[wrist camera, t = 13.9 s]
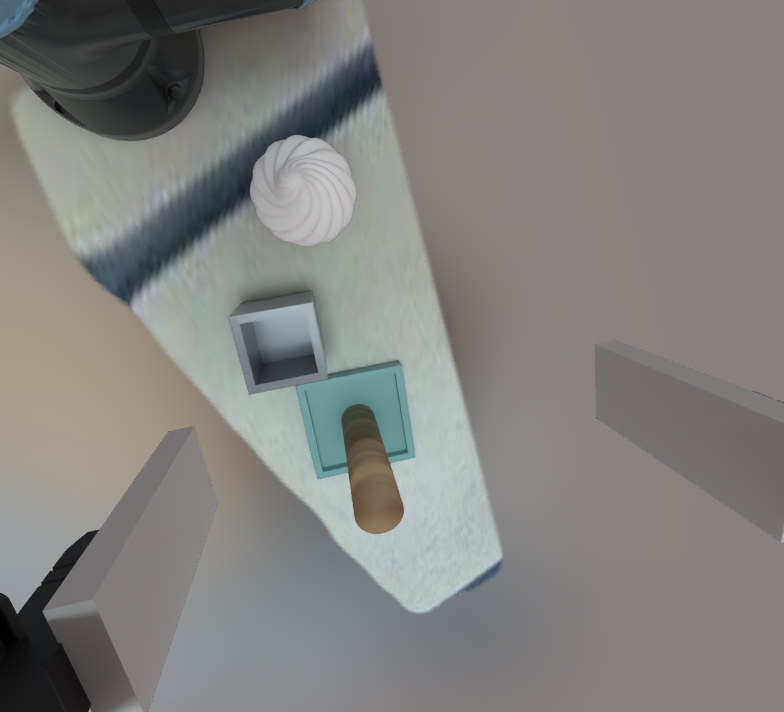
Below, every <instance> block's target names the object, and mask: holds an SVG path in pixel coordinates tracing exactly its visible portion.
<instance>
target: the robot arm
mask: <svg viewBox="0 0 784 712" xmlns="http://www.w3.org/2000/svg"><path fill="white" fill-rule="evenodd" d="M313 1H316V0H0V63H1V64H3V65H5V66H7V67H9V68H11V69H13V70H15V71H17V72H19V73H20V74H21V75H22V77H23V78H24V80H25V81H26V83H27V84H28V85H29V86H30V88H31V89H32V90H33V91H34V92H35V94H36V95H37V96H38V97H39V98H40V99H41V100H42V101H43V102H44V103H45V104H46V105H48V106H49V107H50V108H51V109H52V110H54V111H55V112H56V113H58V114H59V115H60V116H62V117H63V118H65V119H66V120H68V121H70V122H71V123H73V124H75V125H77V126H79V127H81V128H84V129H86V130H88V131H90V132H93V133H95V134H98V135H101V136H104V137H107V138H112V139H117V140H128V141H131V140H143V139H149V138H152V137H156V136H158V135H161V134H163V133H165V132H167V131H169V130H170V129H172V128H173V127H175V126H176V125H177V124H179V123H180V122H181V121H182V120H183V119H184V118H185V117H186V115H187V114H188V113H189V111H190V110H191V109H192V107H193V105H194V104H195V102H196V100H197V97H198V95H199V92H200V89H201V85H202V81H203V74H204V52H203V45H202V40H201V36H200V32H199V29H200V28H204V27H209V26H213V25H217V24H222V23H226V22H231V21H235V20H240V19H244V18H249V17H253V16H257V15H262V14H266V13H271V12H275V11H280V10H284V9H288V8H289V9H292V10H299V9H302V7H306V6H307V5H308V4H310V3H311V2H313ZM595 387H596V419H598V420H599V421H601V422H602V423H604V424H605V425H607V426H608V427H610V428H611V429H613V430H614V431H616V432H617V433H619V434H620V435H622V436H623V437H625V438H626V439H628V440H629V441H631V442H632V443H633V444H635V445H636V446H638V447H639V448H641V449H642V450H644V451H645V452H647V453H648V454H650V455H651V456H653V457H654V458H656V459H657V460H659V461H660V462H662V463H663V464H665V465H666V466H668V467H669V468H671V469H672V470H674V471H675V472H677V473H678V474H679V475H681V476H682V477H684V478H685V479H687V480H689V481H690V482H691V483H693V484H694V485H696V486H697V487H699V488H700V489H702V490H703V491H705V492H706V493H708V494H709V495H711V496H712V497H713V498H715V499H716V500H718V501H719V502H721V503H722V504H724V505H725V506H727V507H729V508H730V509H731V510H733V511H734V512H736V513H737V514H739V515H740V516H742V517H743V518H745V519H746V520H748V521H749V522H751V523H752V524H754V525H755V526H756V527H758V528H760V529H761V530H762V531H764V532H765V533H767V534H768V535H770V536H771V537H773V538H774V539H776V540H777V541H779V542H780V543H783V542H784V402H781V401H779V400H775V399H773V398H771V397H768V396H765V395H763V394H760V393H757V392H754V391H751V390H748V389H745V388H742V387H740V386H737V385H735V384H732V383H729V382H726V381H724V380H721V379H719V378H716V377H713V376H710V375H708V374H705V373H702V372H700V371H697V370H694V369H692V368H689V367H686V366H684V365H681V364H678V363H676V362H673V361H670V360H668V359H665V358H662V357H660V356H657V355H654V354H652V353H649V352H646V351H644V350H641V349H638V348H635V347H633V346H630V345H628V344H625V343H622V342H620V341H617V340H613V341H609V342H604V343H599V344H595ZM217 506H218V500H217V497H216V494H215V491H214V488H213V485H212V481H211V478H210V475H209V471H208V468H207V465H206V462H205V459H204V455H203V452H202V449H201V446H200V443H199V440H198V436H197V433H196V430H195V427H194V426H193V427H188V428H183V429H178V430H173V431H168V433H167V434H166V435H165V437H164V438H163V440H162V441H161V442H160V444H159V445H158V447H157V448H156V450H155V451H154V453H153V454H152V455H151V457H150V458H149V460H148V461H147V462H146V464H145V465H144V467H143V468H142V470H141V471H140V472H139V474H138V475H137V477H136V478H135V480H134V481H133V483H132V484H131V485H130V487H129V488H128V490H127V491H126V493H125V494H124V495H123V497H122V498H121V500H120V501H119V502H118V504H117V505H116V507H115V508H114V510H113V511H112V512H111V514H110V516H109V517H108V518H107V520H106V521H105V523H104V524H103V525H102V527H101V528H100V530H95V531H92V532H87V533H86V534H85V535H84V536H82V537H81V538H80V539H79V540H77V541H76V542H75V543H74V544H73V545H71V546H70V547H69V548H68V549H67V550H66V551H65V552H64V554H63V555H62V556H61V558H60V559H59V560H58V561H57V563H56V564H55V565H54V567H53V571H50V572H49V573H48V575H47V576H46V577H45V579H44V580H43V581H42V582H41V584H42V585H41V586H39V587H38V588H37V589H36V591H35V592H34V593H33V594H32V596H31V597H30V598H29V600H28V601H27V602H26V604H25V605H24V606H23V607H22V609H21V610H20V611H19V613H18V614H17V613H16V611H15V609H14V607H13V605H12V603H11V601H10V600H9V598H8V597H7V596H5V595H4V594H2V593H0V712H88V711H89V709H91V711H92V712H148V711H149V708H150V705H151V702H152V700H153V697H154V694H155V690H156V688H157V685H158V682H159V679H160V676H161V672H162V670H163V667H164V663H165V661H166V658H167V655H168V652H169V649H170V646H171V643H172V640H173V637H174V634H175V631H176V628H177V625H178V622H179V619H180V616H181V613H182V610H183V607H184V604H185V601H186V598H187V595H188V592H189V590H190V587H191V584H192V581H193V578H194V575H195V572H196V569H197V566H198V563H199V560H200V557H201V554H202V551H203V548H204V545H205V542H206V539H207V536H208V533H209V530H210V527H211V524H212V521H213V518H214V515H215V512H216V509H217Z"/></svg>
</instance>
